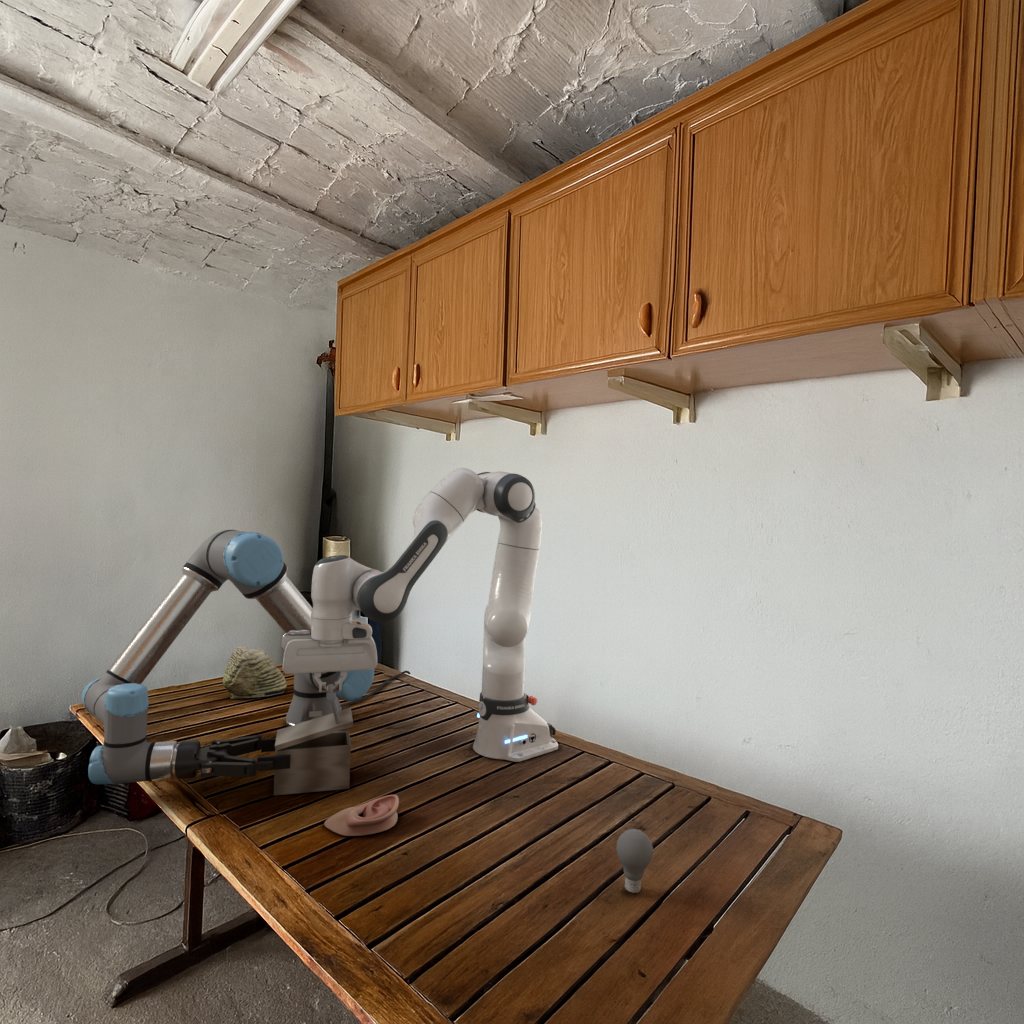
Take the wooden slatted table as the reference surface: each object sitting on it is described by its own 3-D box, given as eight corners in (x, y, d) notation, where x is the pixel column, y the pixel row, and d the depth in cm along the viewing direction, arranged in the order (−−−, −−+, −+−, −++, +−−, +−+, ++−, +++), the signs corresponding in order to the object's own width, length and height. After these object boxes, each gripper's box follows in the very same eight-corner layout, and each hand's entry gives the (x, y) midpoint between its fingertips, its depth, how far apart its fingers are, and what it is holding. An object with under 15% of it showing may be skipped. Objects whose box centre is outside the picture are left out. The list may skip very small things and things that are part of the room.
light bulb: (610, 879, 108) (613, 822, 108) (644, 879, 109) (647, 822, 109) (619, 902, 102) (622, 840, 102) (655, 901, 103) (658, 840, 103)
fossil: (218, 695, 195) (220, 647, 195) (278, 685, 208) (279, 640, 207) (228, 703, 189) (230, 653, 188) (289, 692, 201) (290, 645, 201)
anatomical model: (316, 810, 120) (344, 784, 131) (316, 831, 120) (344, 803, 131) (382, 821, 117) (405, 793, 128) (381, 842, 117) (404, 812, 128)
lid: (351, 712, 147) (343, 678, 146) (353, 726, 138) (344, 690, 137) (278, 734, 142) (269, 700, 141) (275, 750, 133) (266, 714, 132)
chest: (347, 770, 147) (349, 730, 146) (349, 788, 138) (350, 745, 138) (276, 776, 142) (277, 735, 142) (273, 795, 133) (275, 751, 133)
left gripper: (187, 756, 143) (292, 749, 149) (164, 802, 122) (288, 791, 128) (188, 723, 142) (294, 718, 149) (165, 763, 122) (289, 755, 128)
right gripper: (280, 633, 134) (279, 698, 134) (378, 630, 140) (377, 692, 140) (282, 627, 140) (281, 689, 140) (376, 624, 146) (375, 684, 146)
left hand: (291, 752), depth 139 cm, fingers closed on chest, 9 cm apart
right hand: (330, 690), depth 140 cm, fingers closed
